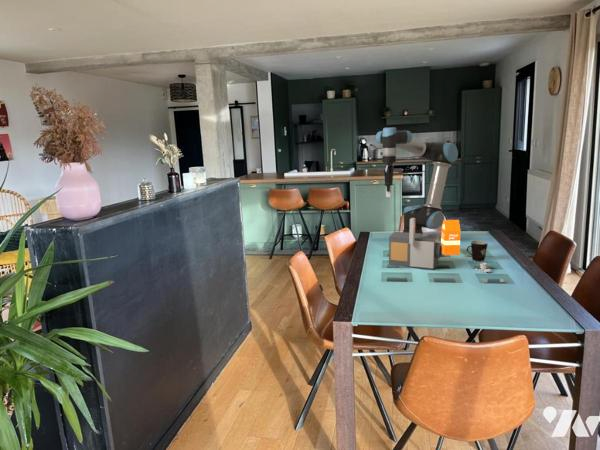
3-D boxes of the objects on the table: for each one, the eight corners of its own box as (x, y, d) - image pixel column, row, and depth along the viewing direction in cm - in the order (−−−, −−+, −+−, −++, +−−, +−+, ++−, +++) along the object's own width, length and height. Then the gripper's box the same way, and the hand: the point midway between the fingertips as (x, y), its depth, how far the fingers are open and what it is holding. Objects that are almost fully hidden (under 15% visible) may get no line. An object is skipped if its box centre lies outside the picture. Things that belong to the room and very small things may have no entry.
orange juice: (459, 254, 263) (461, 221, 259) (444, 255, 263) (445, 221, 259) (455, 251, 270) (456, 218, 266) (440, 251, 271) (441, 218, 267)
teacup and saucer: (493, 274, 229) (493, 266, 228) (476, 273, 230) (477, 265, 230) (490, 268, 237) (490, 261, 236) (473, 268, 239) (474, 261, 238)
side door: (410, 265, 242) (411, 217, 237) (433, 267, 237) (435, 219, 232) (408, 267, 239) (409, 219, 233) (432, 270, 233) (433, 220, 228)
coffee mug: (484, 257, 256) (485, 240, 254) (488, 262, 248) (489, 244, 245) (462, 257, 257) (463, 240, 255) (466, 262, 249) (467, 244, 247)
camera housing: (394, 259, 258) (394, 229, 255) (442, 263, 247) (443, 233, 243) (388, 264, 248) (389, 234, 244) (438, 270, 236) (439, 238, 233)
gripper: (385, 154, 263) (385, 195, 268) (379, 156, 252) (379, 198, 257) (398, 154, 260) (397, 195, 265) (392, 156, 249) (392, 198, 254)
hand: (388, 196), depth 261 cm, fingers closed
